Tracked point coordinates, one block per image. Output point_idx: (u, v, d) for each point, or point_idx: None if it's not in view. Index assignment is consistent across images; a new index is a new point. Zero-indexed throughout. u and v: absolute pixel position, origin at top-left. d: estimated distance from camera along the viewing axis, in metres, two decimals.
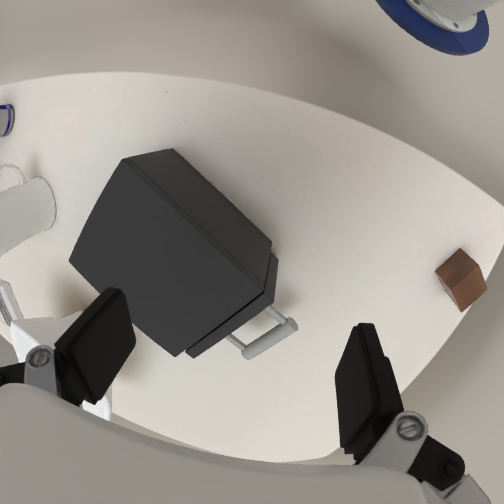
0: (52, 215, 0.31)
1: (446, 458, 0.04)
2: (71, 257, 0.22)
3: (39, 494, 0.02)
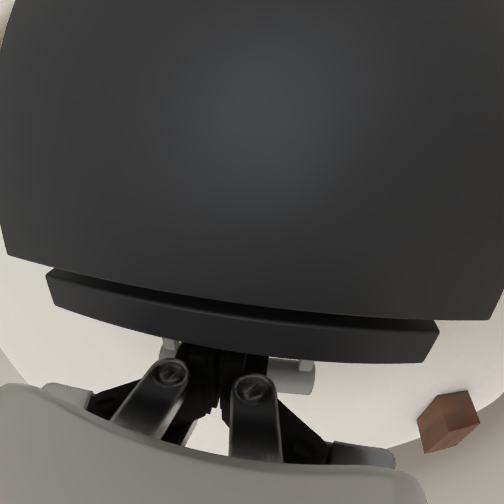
0: None
1: (304, 438, 0.06)
2: None
3: (39, 494, 0.02)
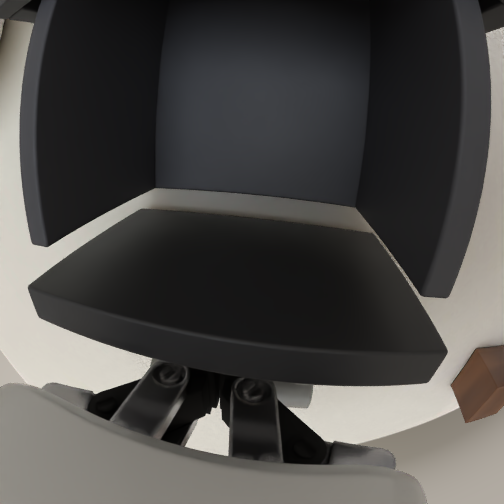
0: None
1: (304, 438, 0.06)
2: None
3: (39, 494, 0.02)
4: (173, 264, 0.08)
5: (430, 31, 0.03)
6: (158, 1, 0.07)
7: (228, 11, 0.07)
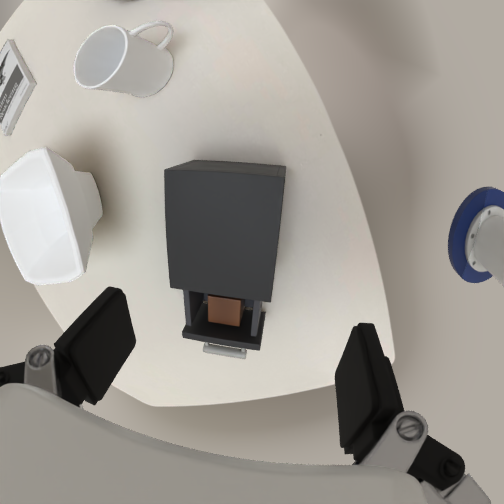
0: (150, 94, 0.31)
1: (446, 458, 0.04)
2: (171, 171, 0.27)
3: (39, 494, 0.02)
4: (212, 325, 0.39)
5: None
6: None
7: None
